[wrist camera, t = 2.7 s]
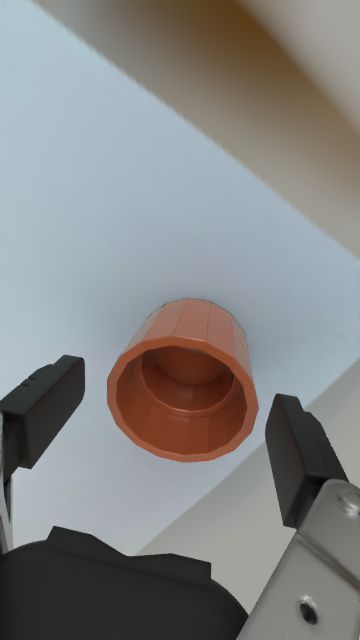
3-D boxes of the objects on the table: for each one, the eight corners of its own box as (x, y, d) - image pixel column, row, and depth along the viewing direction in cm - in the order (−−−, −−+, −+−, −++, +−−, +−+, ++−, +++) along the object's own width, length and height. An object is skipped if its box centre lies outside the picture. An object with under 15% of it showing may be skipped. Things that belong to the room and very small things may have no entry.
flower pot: (203, 273, 13) (193, 304, 9) (267, 359, 14) (288, 427, 10) (121, 334, 15) (77, 385, 11) (183, 405, 16) (168, 479, 12)
